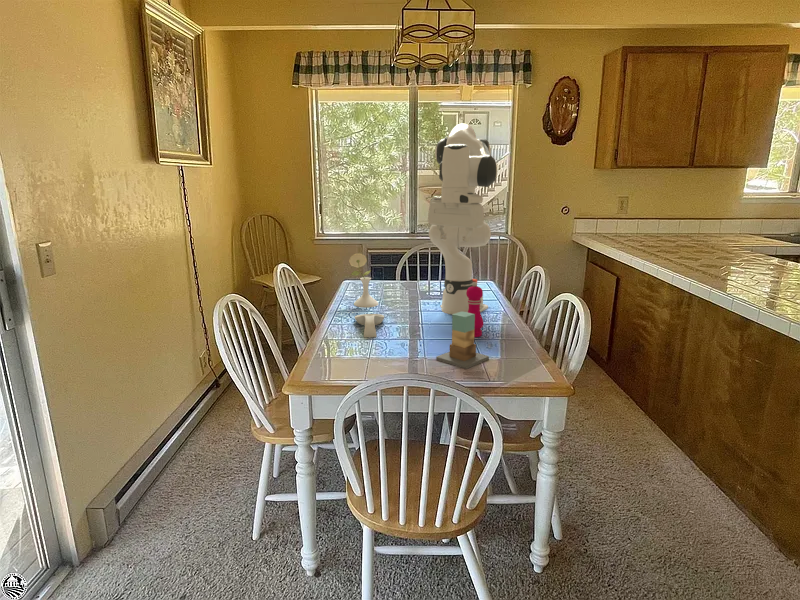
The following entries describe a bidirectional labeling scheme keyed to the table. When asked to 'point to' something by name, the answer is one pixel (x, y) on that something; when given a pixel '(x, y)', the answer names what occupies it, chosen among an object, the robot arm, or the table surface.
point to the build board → (461, 363)
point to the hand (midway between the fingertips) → (454, 240)
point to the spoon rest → (369, 323)
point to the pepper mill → (475, 307)
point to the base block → (462, 352)
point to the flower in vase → (365, 299)
